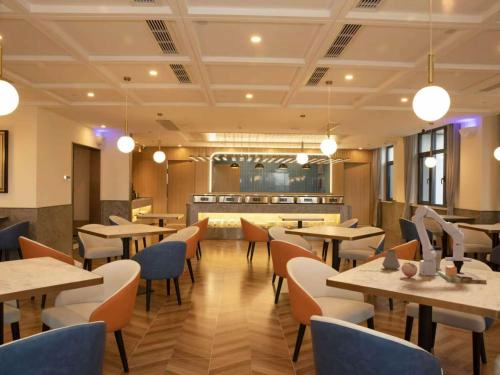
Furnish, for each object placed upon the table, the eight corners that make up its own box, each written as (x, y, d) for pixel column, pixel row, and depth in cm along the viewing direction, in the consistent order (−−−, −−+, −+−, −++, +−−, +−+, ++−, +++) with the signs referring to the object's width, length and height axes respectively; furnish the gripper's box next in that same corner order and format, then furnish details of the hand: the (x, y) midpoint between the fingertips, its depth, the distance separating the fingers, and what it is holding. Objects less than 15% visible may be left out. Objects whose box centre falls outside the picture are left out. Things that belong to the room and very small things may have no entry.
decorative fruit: (420, 278, 242) (420, 262, 242) (411, 279, 238) (412, 263, 238) (407, 275, 250) (407, 259, 250) (398, 276, 246) (399, 260, 246)
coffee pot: (399, 268, 274) (400, 246, 274) (400, 271, 263) (400, 248, 264) (367, 265, 282) (368, 244, 282) (366, 268, 271) (367, 246, 271)
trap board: (449, 281, 234) (449, 278, 234) (437, 273, 257) (437, 270, 257) (486, 283, 231) (486, 280, 231) (471, 275, 254) (471, 272, 254)
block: (448, 275, 243) (448, 267, 243) (445, 273, 248) (445, 265, 248) (456, 275, 242) (456, 267, 242) (453, 274, 247) (453, 266, 247)
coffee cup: (444, 269, 271) (444, 247, 271) (429, 269, 273) (429, 247, 273) (440, 267, 280) (440, 245, 280) (426, 266, 282) (426, 245, 282)
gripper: (447, 251, 242) (447, 273, 241) (473, 252, 239) (473, 275, 239) (444, 249, 249) (443, 271, 248) (469, 250, 246) (468, 272, 246)
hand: (458, 273), depth 244 cm, fingers closed
